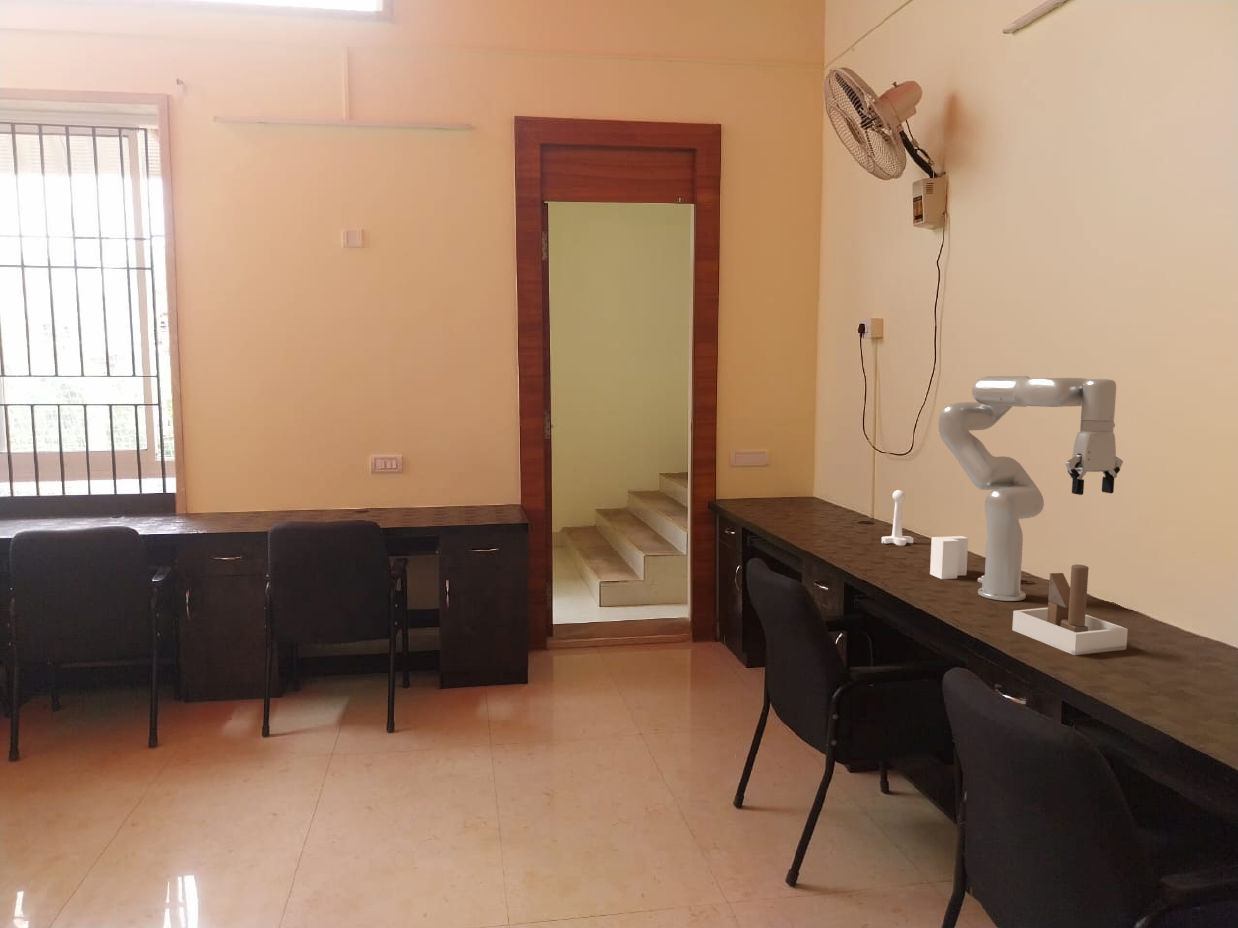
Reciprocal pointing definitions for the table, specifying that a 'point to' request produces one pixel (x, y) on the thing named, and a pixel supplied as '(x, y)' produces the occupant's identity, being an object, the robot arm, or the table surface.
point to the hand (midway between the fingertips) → (1092, 493)
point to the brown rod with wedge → (1068, 599)
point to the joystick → (897, 522)
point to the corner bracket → (948, 556)
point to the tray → (1070, 633)
